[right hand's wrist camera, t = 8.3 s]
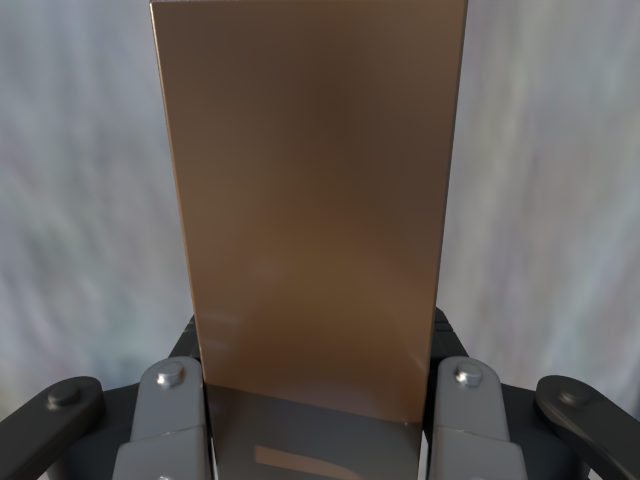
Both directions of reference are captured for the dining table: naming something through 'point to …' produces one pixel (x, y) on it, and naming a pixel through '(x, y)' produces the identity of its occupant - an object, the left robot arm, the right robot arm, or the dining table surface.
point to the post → (312, 221)
